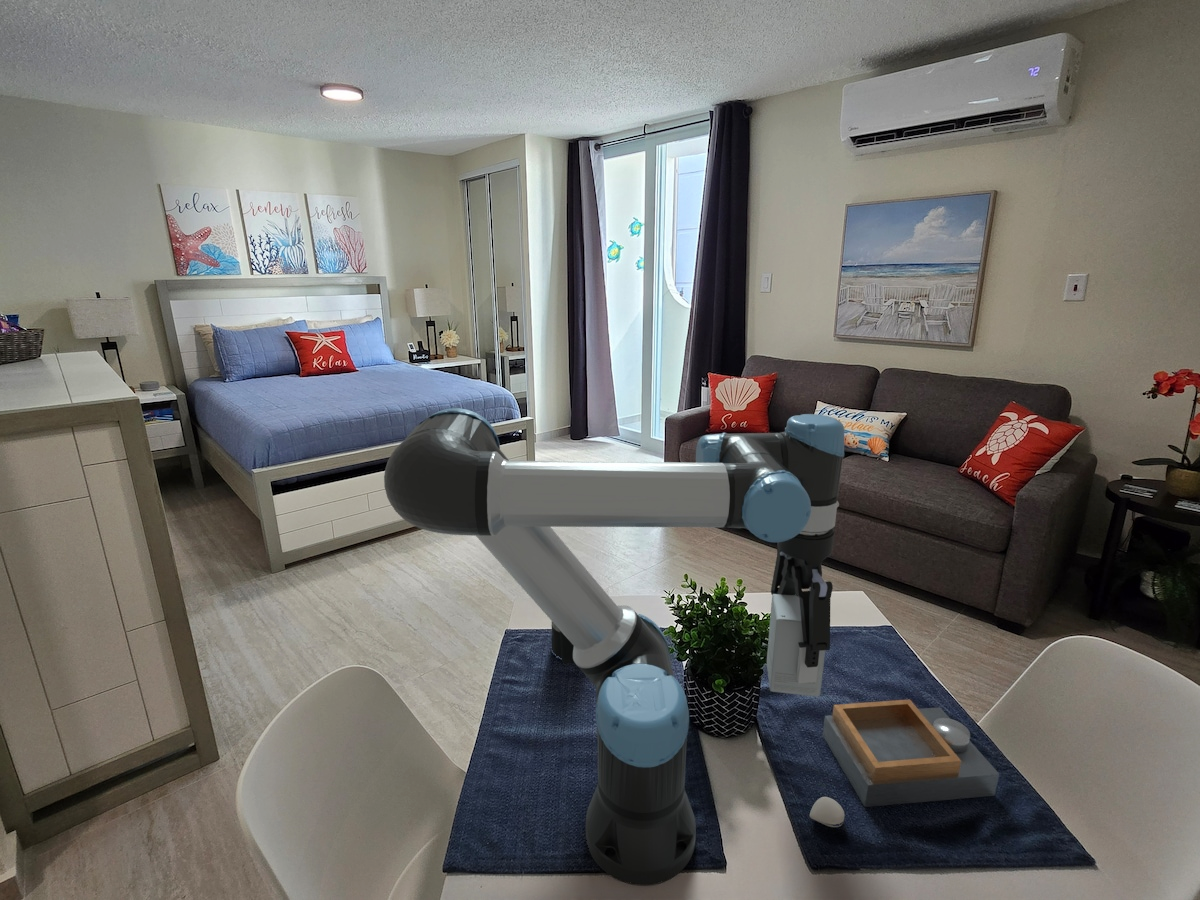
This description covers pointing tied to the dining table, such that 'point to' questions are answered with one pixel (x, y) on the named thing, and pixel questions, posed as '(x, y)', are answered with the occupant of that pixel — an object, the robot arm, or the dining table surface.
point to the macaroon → (827, 812)
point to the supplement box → (788, 648)
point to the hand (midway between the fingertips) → (793, 661)
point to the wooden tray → (906, 754)
